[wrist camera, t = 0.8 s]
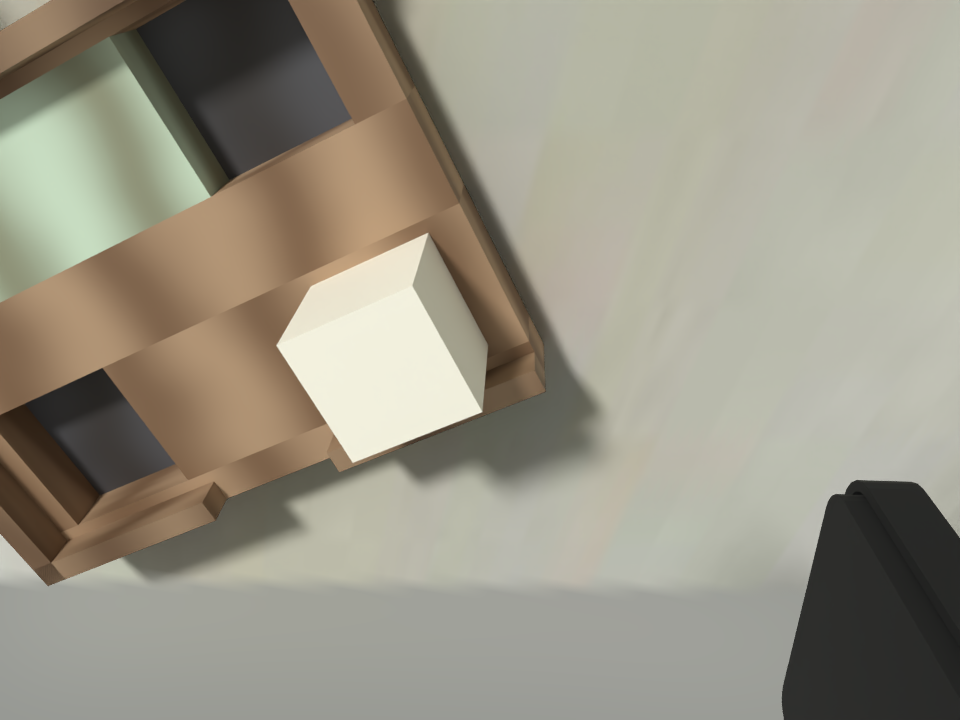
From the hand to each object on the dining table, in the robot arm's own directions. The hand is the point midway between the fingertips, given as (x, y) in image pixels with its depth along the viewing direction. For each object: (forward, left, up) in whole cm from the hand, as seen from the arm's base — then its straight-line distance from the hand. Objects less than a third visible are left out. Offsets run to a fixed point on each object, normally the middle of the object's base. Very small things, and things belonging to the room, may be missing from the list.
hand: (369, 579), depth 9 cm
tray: (+14, 0, -25) cm, 29 cm away
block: (+6, +5, -23) cm, 24 cm away
